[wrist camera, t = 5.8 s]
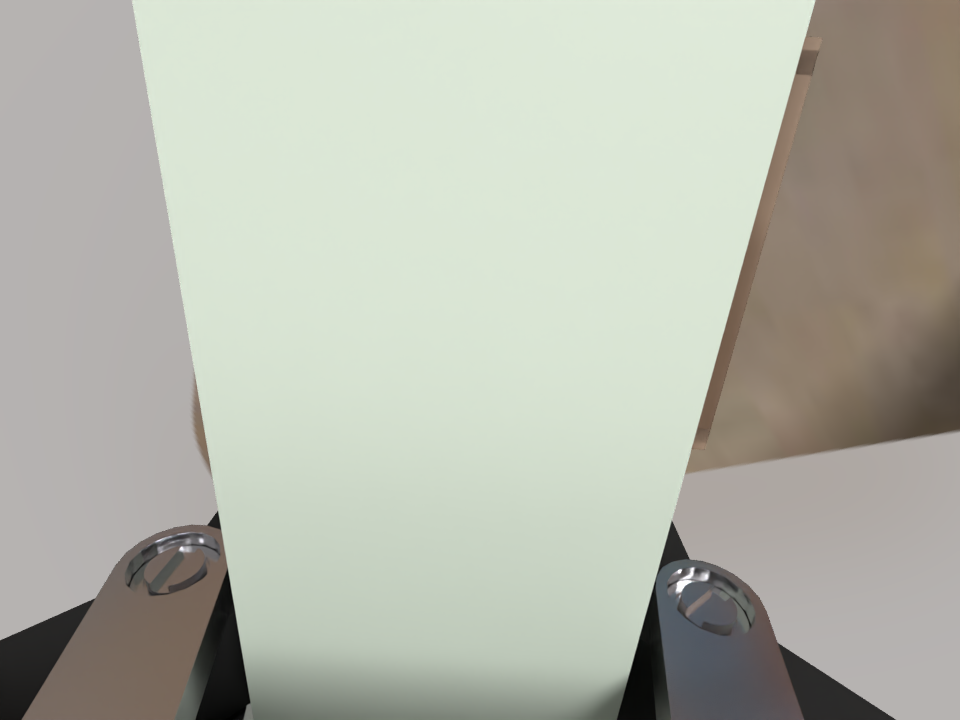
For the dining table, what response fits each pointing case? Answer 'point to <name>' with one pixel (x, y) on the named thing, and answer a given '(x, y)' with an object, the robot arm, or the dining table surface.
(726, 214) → the pale green slab
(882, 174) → the dining table surface
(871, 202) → the dining table surface
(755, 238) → the box
